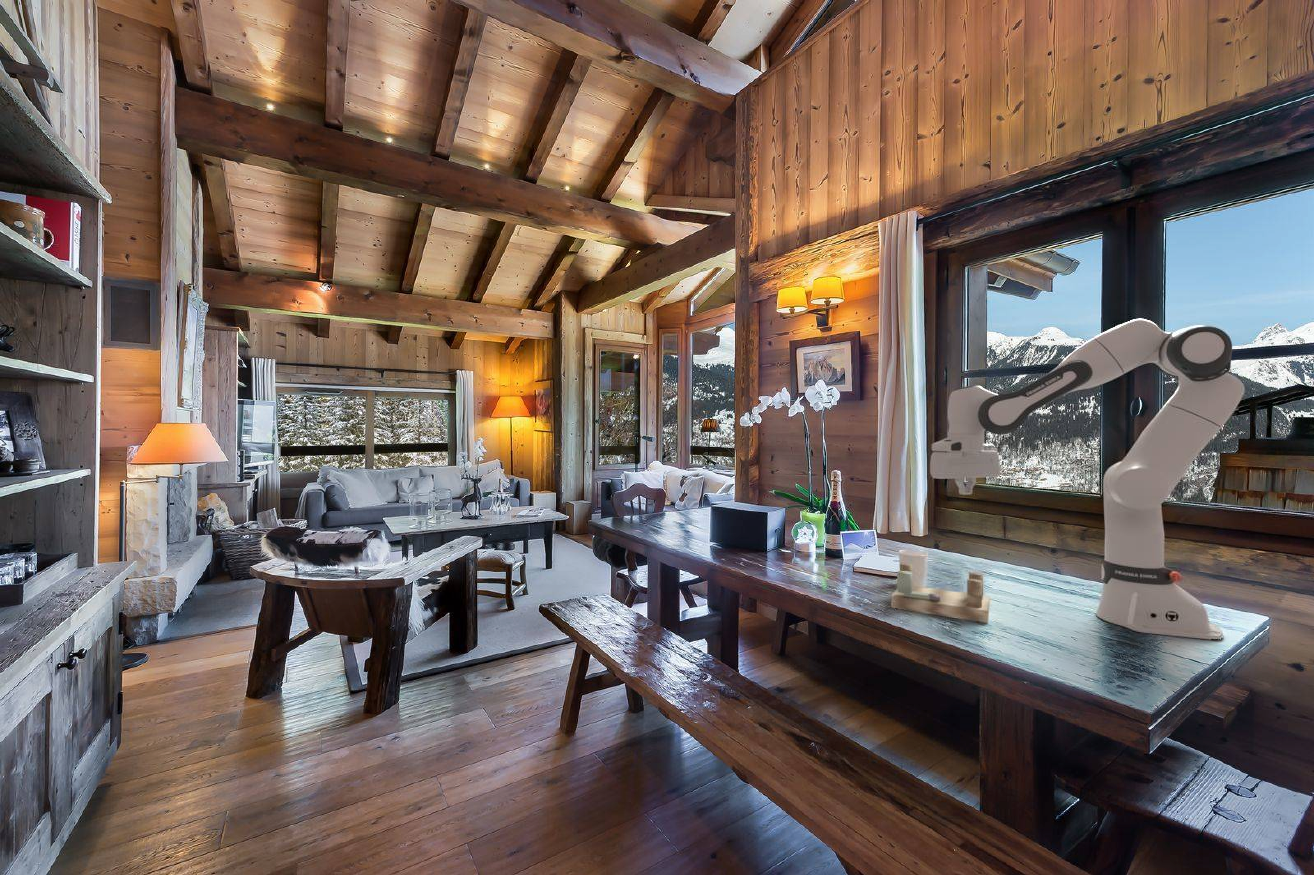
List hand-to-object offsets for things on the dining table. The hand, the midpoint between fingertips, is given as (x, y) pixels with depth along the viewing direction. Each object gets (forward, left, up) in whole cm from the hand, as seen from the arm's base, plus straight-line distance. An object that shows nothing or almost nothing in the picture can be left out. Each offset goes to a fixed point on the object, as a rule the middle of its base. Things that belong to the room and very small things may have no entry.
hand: (965, 494), depth 155 cm
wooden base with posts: (+5, +13, -29) cm, 32 cm away
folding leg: (+10, +18, -26) cm, 33 cm away
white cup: (+14, -5, -29) cm, 33 cm away
